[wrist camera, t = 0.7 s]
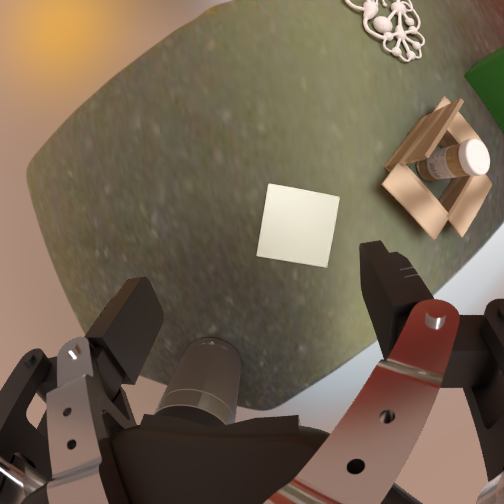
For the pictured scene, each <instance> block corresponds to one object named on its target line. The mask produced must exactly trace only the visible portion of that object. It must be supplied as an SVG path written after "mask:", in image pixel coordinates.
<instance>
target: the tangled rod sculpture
mask: <svg viewBox="0 0 504 504" xmlns="http://www.w3.org/2000/svg"><path fill="white" fill-rule="evenodd" d="M345 1H346V3H347V4H348V5H349V6H350V7H352V8H354V9H358V10H362V11H364V15H363V17H364V20H363V25H364V27H365V30H366V31H367V32H368V33H370V34H372V35H373V36H375V37H377V38H379V39H384V41H383V47H384V48H385V49H386V50H387V51H389V52H391V53H392V54H393V55H394V56H400V58H401V59H402V60H404V61H406V62H409V61H410V60H414V59H415V58H417V59H420V58H421V56H422V54H421V50H420V49H421V46H423V45H424V43H425V39H424V37H423V36H422V35H421V34H420V33H419V32H418V31H417V30H418V29H419V27H420V18H419V16H418V15H417V13H416V12H415V10H414V9H413V6H412V3H411V1H410V0H408V2H409V4H410V5H409V4H408V3H407V2H403V1H402V2H401V3H400V0H396V1H397V2H394V3H393V4H392V5H391V10H392V13H391V14H390V15H389V16H388V18H386V17H383V16H379V17H376V18H375V19H374V21H373V26H374V28H375V29H376V30H377V31H378V32H380V33H383V34H384V36H382V35H379V34H377V33H375V32H373V31H372V30H370V29H369V27H368V25H367V21H368V20H369V19H372V18H373V17H374V16H375V15H376V13H377V12H378V3H377V2H378V0H376V2H375V1H374V0H372V1H373V2H372V1H371V0H366V1H367V2H364V5H363V7H359V6H356V5H354V4H352V3H351V2H350V1H349V0H345ZM382 1H383V6H384V7H386V6H387V4H386V3H385V1H384V0H382ZM403 3H404V4H406V5H408V6H409V7H410V8H411V9H410V10H408V9H406V7H405V6H404V5H403ZM406 11H408V12H411V11H413V12H414V14H415V15H416V17H417V19H418V26H417V27H414V26H412V25H414V21H413V19H411V18H408V17H407V15H406V14H405V13H406ZM395 14H396V15H398V25H397V26H396V28H395V33H391V32H390V31H391V30H392V23H391V21H390V19H391V18H392V17H393V16H394V15H395ZM403 15H404V17H405V18H406V19H405V23H406V24H407V25H409V26H410V27H409V30H408V31H404V30H403V27H402V24H401V16H403ZM409 33H411V34H414V35H415V34H419V35H420V36H421V37H422V39H423V42H422V44H420V43H419V42H414V41H412V40H411V39H409V38H408V37H407V36H406V34H409ZM394 36H395V37H396V38H397V39H398V41H397V43H396V46H395V47H394V48H393V49H392V50H389V49H388V48H387V47H386V45H385V42H386V40H388V41H391V40H392V39H393V37H394ZM405 39H406V40H407V41H409V42H410V43H412V47H413V48H414V49H415V50H419V56H416V55H415V53H414V52H412V51H410V49H409V47H408V45H407V43H406V41H405ZM401 41H402V43H403V45H404V47H405V49H406V51H407V53H406V56H407V58H408V60H406V59H405V58H403V57H402V56H401V50H400V49H399V46H400V43H401Z"/></svg>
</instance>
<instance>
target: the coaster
mask: <svg viewBox="0 0 504 504" xmlns="http://www.w3.org/2000/svg"><path fill="white" fill-rule="evenodd" d="M339 198H340V197H337V196H332V195H327V194H322V193H317V192H312V191H307V190H302V189H297V188H291V187H286V186H280V185H274V184H268V189H267V195H266V202H265V208H264V214H263V220H262V226H261V232H260V238H259V244H258V250H257V256H260V257H266V258H272V259H278V260H284V261H290V262H296V263H302V264H308V265H314V266H320V267H327V264H328V259H329V254H330V249H331V244H332V238H333V233H334V227H335V222H336V216H337V210H338V204H339Z"/></svg>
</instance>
